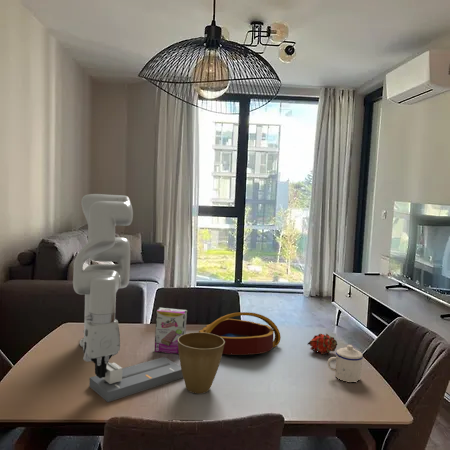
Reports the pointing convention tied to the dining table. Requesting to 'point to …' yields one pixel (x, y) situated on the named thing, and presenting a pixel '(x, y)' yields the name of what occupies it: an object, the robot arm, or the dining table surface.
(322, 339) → the dragon fruit
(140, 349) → the dining table surface
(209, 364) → the plant pot
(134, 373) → the fader panel
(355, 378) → the teacup with lid
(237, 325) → the decorative basket
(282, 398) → the dining table surface
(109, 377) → the fader knob
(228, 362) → the dining table surface
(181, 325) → the candy bar box
